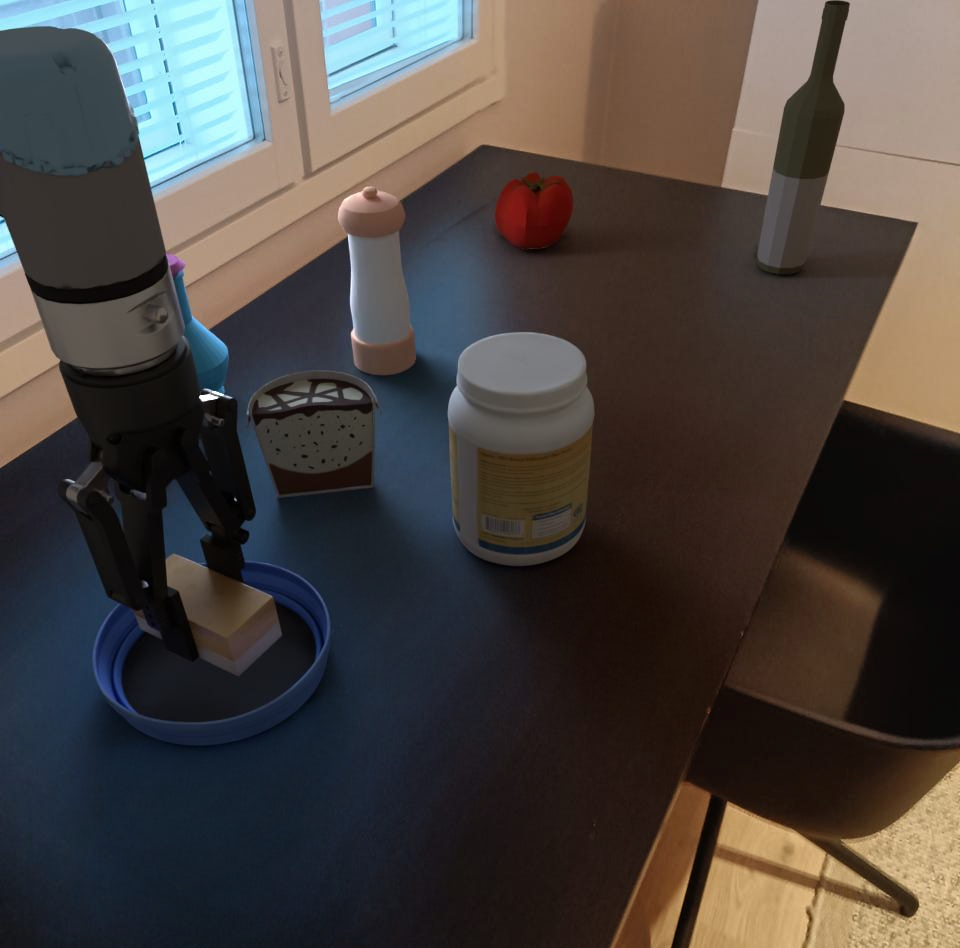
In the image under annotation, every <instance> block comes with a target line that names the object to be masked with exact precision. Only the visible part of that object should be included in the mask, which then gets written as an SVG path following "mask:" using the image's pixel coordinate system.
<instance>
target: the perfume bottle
mask: <svg viewBox="0 0 960 948" xmlns="http://www.w3.org/2000/svg"><path fill="white" fill-rule="evenodd" d="M166 255H167V259H168V263H169V265H170V269H171V273H172V277H173V281H174V285H175V289H176V293H177V297H178V301H179V305H180V309H181V313H182V317H183V321H184V325H185V329H184V335H183V336H184V337H185V338H186V339H187V340H188V341H189V344H190V347H191V351H192V355H193V359H194V363H195V367H196V371H197V375H198V379H199V383H200V388H201V391H202V390H203V389H209V390H212V391H215V392H218V393H221V394H223V395H226V394H225V392H226V390H225V384H226V382H227V372H228V369H229V368H228V367H229V361H230V357H229V350H228V346H227V345H226V344H225V342H223V341H222V340H221V339H220V338H219V337H217V335H215V334H214V333H213V332H211V331H210V330H209V329H208V328H206V327H205V326H204V325H203V324H202V323H201V322H199V320H198V319H196V317H194V316H193V313H192V310H191V306H190V302H189V297H188V293H187V289H186V285H185V284H186V283H185V281H184V276H185V272H184V269H185V268H186V263H185V261H184V260H182V259H181V258H179V257H178V256H176V255H175V254H172V253H166Z"/></svg>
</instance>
